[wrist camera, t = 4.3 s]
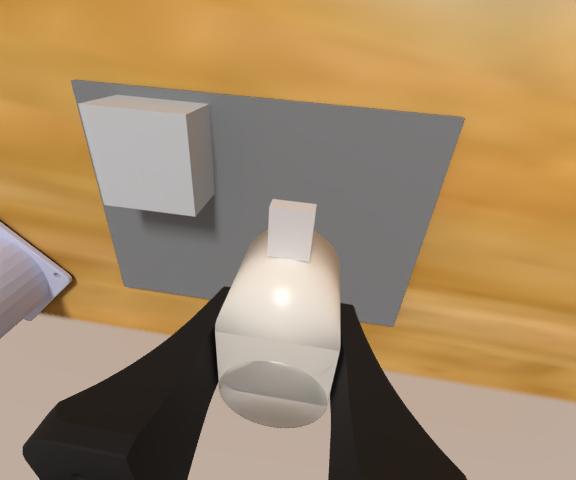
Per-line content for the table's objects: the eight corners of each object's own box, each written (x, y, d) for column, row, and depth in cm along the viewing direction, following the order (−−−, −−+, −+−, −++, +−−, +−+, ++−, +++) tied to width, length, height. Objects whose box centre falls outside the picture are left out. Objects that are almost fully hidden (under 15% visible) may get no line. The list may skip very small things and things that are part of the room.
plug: (320, 372, 17) (315, 455, 13) (245, 361, 17) (222, 438, 14) (356, 188, 11) (363, 249, 8) (245, 175, 12) (207, 228, 8)
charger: (134, 184, 20) (104, 204, 17) (117, 94, 17) (77, 103, 14) (214, 193, 19) (195, 216, 17) (209, 103, 16) (185, 114, 14)
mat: (127, 283, 25) (124, 286, 24) (76, 79, 17) (70, 80, 17) (392, 322, 23) (393, 326, 23) (462, 117, 16) (465, 118, 15)
